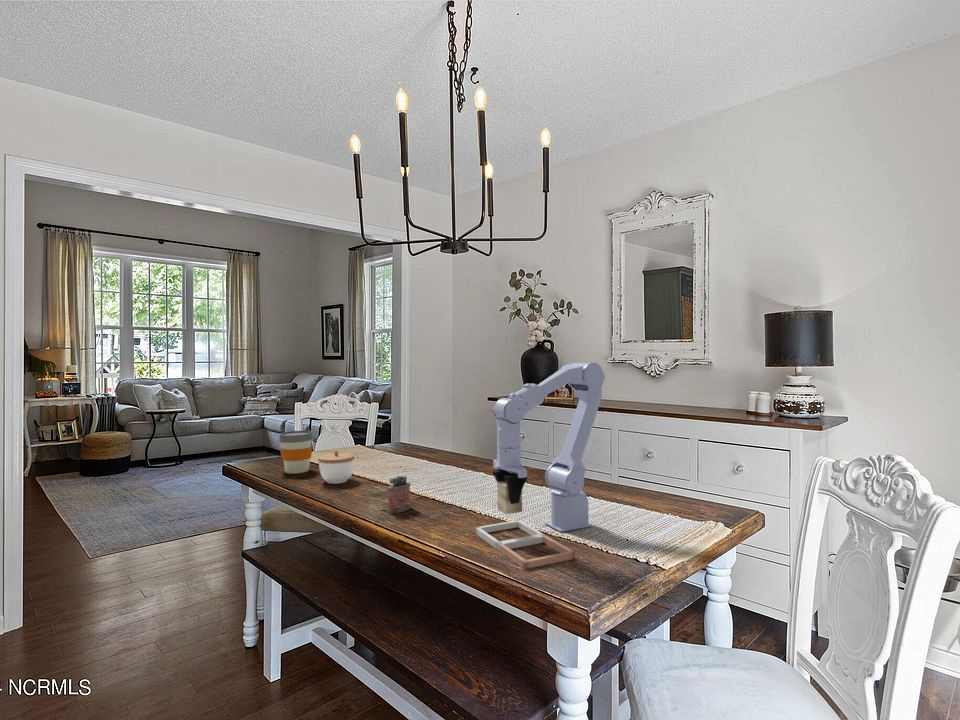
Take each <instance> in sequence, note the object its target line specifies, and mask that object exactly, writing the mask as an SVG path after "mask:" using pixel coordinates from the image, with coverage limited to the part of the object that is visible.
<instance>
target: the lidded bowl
mask: <svg viewBox="0 0 960 720" xmlns="http://www.w3.org/2000/svg"><path fill="white" fill-rule="evenodd" d="M317 461H318V468H319V472H320V476H321V477H322V478H323V480H325V481H326V483H327V484H332V485H333V484H335V485H336V484H337V485H338V484H343V483H346V482H348V479H350V477H351V476H352V474H353V472H354V470H355V469H354V468H355V455H354V453H348V452H339V450H334V453H326V454H323V455H320V456H318V460H317Z"/></svg>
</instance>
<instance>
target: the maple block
mask: <svg viewBox="0 0 960 720" xmlns="http://www.w3.org/2000/svg"><path fill="white" fill-rule="evenodd" d="M496 483H497V510H498V511H499V512H501V513H503V514H505V515H509V514H511V515H512V514H517V513H522V512H523V491H522V492H521V496H520V501H519V503H516V504H511V503H510V499H509V491H508V486H507V483H506V481H501V482H497V481H496Z"/></svg>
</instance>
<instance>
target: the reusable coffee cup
mask: <svg viewBox="0 0 960 720" xmlns="http://www.w3.org/2000/svg"><path fill="white" fill-rule="evenodd" d="M312 440H313V432H312V431H311V430H292V431H284V432H281V433H279V440H278V441H279V444H280V457H281V460H282V461H283V468H284V472H285V473H286V474H294V475H295V474H303V473H306V472H308V471H310V462H311V461H310V460H311V458H312V453H313V445H312Z"/></svg>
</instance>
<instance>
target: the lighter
mask: <svg viewBox="0 0 960 720" xmlns="http://www.w3.org/2000/svg"><path fill="white" fill-rule="evenodd" d="M407 480H408V477H407V475H403V476H400V475H397V476H396V477H393V478H390V479H389V484H392V485H389V486H387V487H386V488H387V496H388V499H387V501H388V509H387V513H388V514H389V515H390V514H398V513H401V512H405V511H408V510H410V509H412V505H411V504H412V503H411V482H410V481H407Z"/></svg>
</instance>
